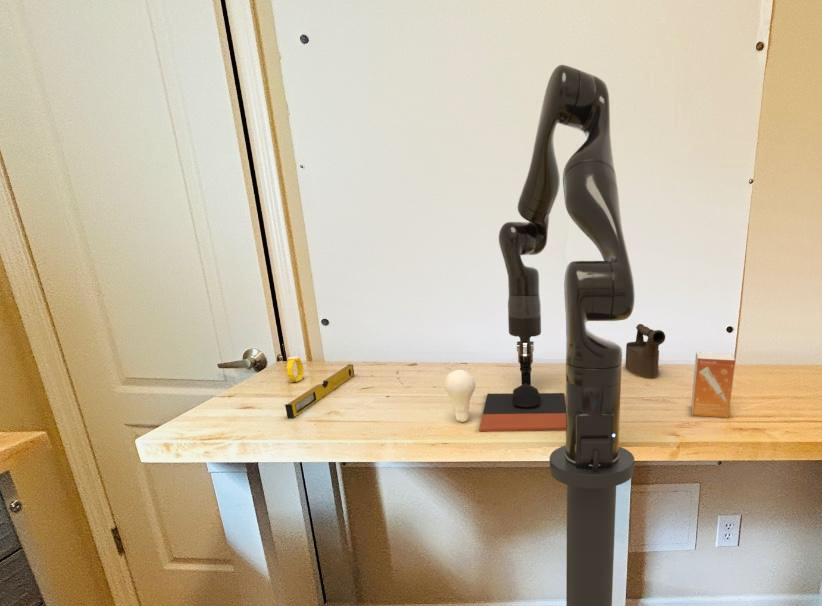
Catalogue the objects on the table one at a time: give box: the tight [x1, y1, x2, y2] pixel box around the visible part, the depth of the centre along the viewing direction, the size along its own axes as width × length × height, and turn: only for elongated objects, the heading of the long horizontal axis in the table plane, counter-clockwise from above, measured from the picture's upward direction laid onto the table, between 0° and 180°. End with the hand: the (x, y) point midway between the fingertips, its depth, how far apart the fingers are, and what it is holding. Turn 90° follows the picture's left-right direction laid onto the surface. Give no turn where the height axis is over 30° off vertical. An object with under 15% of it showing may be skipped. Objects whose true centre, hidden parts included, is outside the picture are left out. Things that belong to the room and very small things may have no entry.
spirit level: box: [284, 364, 355, 419], centre depth 140 cm, size 33×1×3 cm, turn 0°
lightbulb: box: [443, 369, 476, 423], centre depth 124 cm, size 6×6×11 cm
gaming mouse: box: [512, 383, 541, 408], centre depth 138 cm, size 6×15×4 cm, turn 9°
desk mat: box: [478, 392, 566, 432], centre depth 133 cm, size 24×18×1 cm
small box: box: [690, 351, 736, 419], centre depth 133 cm, size 8×6×13 cm
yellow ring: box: [286, 355, 304, 383], centre depth 150 cm, size 6×3×6 cm, turn 2°
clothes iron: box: [624, 323, 666, 379], centre depth 163 cm, size 8×16×13 cm, turn 13°
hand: (526, 386), depth 146 cm, fingers closed
